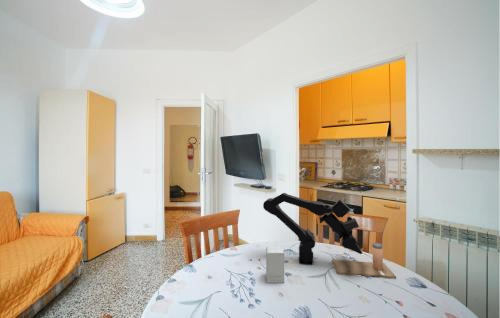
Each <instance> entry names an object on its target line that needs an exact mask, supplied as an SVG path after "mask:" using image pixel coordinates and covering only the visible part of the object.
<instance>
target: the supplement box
mask: <svg viewBox="0 0 500 318" xmlns="http://www.w3.org/2000/svg"><path fill="white" fill-rule="evenodd" d="M265 249H266V250H265V251H266V252H265V258H266V259H265V262H266V263H265V266H266V271H265V275H266V282H267V283H268V284H269V283H270V284H272V283H273V284H285V250H284V249H283V246H280V245H279V246H277V245H276V246H275V245H274V246H273V245H272V246H270V245H269V246H265Z"/></svg>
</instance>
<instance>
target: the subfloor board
mask: <svg viewBox="0 0 500 318" xmlns="http://www.w3.org/2000/svg"><path fill="white" fill-rule="evenodd" d="M331 263H332V265H334V266H333V268H334V271H335V270H336V271H335V273H336V275H342V274H345V275H344V276H354V275H361V276H360V277H367V276H375V277H374V278H379V277H385V278H384V279H391V278H396V279H397V275H395V273H394V272H393V271H392V270H391V269H390V268H389V267H388V266H387V264H385V263H384V262H383V270H382V271H379V270H375V269H373V261H372V262H370V261H357V260H345V259H344V260H341V259H331Z"/></svg>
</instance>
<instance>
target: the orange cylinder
mask: <svg viewBox="0 0 500 318" xmlns="http://www.w3.org/2000/svg"><path fill="white" fill-rule="evenodd" d="M371 244H372V247H371V248H372V250H371V251H372V262H373V269H375V270H379V271H382V270H383V263H384V262H383V261H384V260H383V257H384V255H383V254H384V253H383V244H382V243H379V242H373V243H371Z"/></svg>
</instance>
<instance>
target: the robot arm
mask: <svg viewBox="0 0 500 318" xmlns="http://www.w3.org/2000/svg"><path fill="white" fill-rule="evenodd" d="M282 203H287V204H290V205H293V206H297V207H300V208H302V209H306V210H307V211H308V212H310V213H312V214H314V215H316V216H318V217H319V218H318V219H319V224H323V222H324V223H325V224H326V225H327V226H328V227H329V228H330V229H331V231H332V233H335V234H336V235H337V237H338V238H339V239H340V243H341V244H340V245H341V246H342V247H343V248H344V249H348V250H351V251H352V252H355V253H357V254H360V255H362V254H363V251H362V249H361V248H360V247H359V246H360V245H359V242H358V241H357V239H356V237H355V236H354V234H353V229H358V228H359V227H360V225H359V223H358V221H357V220H356V217H355V218H354V217H353V218H352V217H351V216H348V217H346V220H345V221H342V220H341V219H342V218H344V217H345V216H346V215H347V214H348V213H349V212H351V211H352V210H351V208H350V207H349V206H348V205H347V204H346V203H345V202H343V201H342V200H341V199H338V200H337V201H336V202H335V203H334V204H333V205H329V204H325V203H324V202H322V201H316V200H307V199H304V198H300V197H298V196H295V195H291V194H288V193H286V192H282V193H281V194H278V195H276V196H275V197H271V198H267V199H266V200H265V201H264V202H263V204H262V206H263V207H262V208H263V210H265V211H266V212H267V213H269V214H271V215H273V216H275V217H276V218H277V219H278V220H280V221H281V222H282V223H283V224H284V225H285V226H286V227H287V228H288V229H290V231H291V232H292V233H294V234H295V235H296V236H297V238H298V240H299V241H300V242H299V245H298V263H299V265H300V264H301V265H313V264H314V252H313V249H314V248H315V246H316V236H315V235H314V232H312V231H311V230H310V229H309V228H308V227H307V228H306V229H305V228H302V227H301V226H300V225H299V224H298V223H297V222H296V221H295V220H294V219H293V218H292V217H290V216H289V215H288V214H287V213H286V212H285V211H284V210H283V209H282V208H281V206H280V205H281V204H282ZM339 218H341V219H339Z"/></svg>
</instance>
